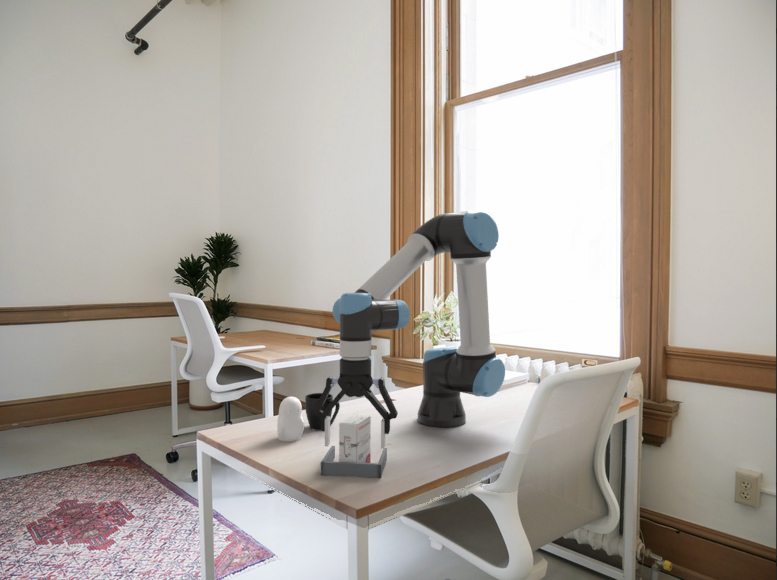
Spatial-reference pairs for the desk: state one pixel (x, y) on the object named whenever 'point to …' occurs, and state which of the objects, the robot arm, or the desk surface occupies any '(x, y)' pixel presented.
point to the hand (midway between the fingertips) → (355, 445)
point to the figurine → (290, 420)
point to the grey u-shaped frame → (352, 466)
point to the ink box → (355, 439)
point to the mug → (311, 403)
